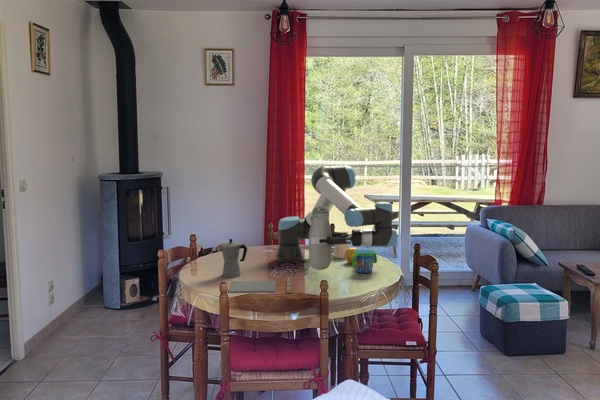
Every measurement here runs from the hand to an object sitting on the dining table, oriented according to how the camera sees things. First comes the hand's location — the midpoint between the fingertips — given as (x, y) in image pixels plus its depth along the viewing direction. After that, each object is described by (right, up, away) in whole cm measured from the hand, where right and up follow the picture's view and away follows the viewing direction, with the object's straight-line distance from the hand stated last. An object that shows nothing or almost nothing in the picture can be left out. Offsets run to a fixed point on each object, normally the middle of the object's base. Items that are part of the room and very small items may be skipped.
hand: (310, 238), depth 216 cm
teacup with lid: (+17, -16, +61) cm, 66 cm away
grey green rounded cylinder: (+4, -14, +2) cm, 15 cm away
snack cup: (+27, -19, +27) cm, 43 cm away
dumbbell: (+25, -18, +40) cm, 50 cm away
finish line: (-10, -22, +2) cm, 24 cm away
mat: (-26, -22, +3) cm, 34 cm away
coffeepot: (-37, -20, +23) cm, 48 cm away
